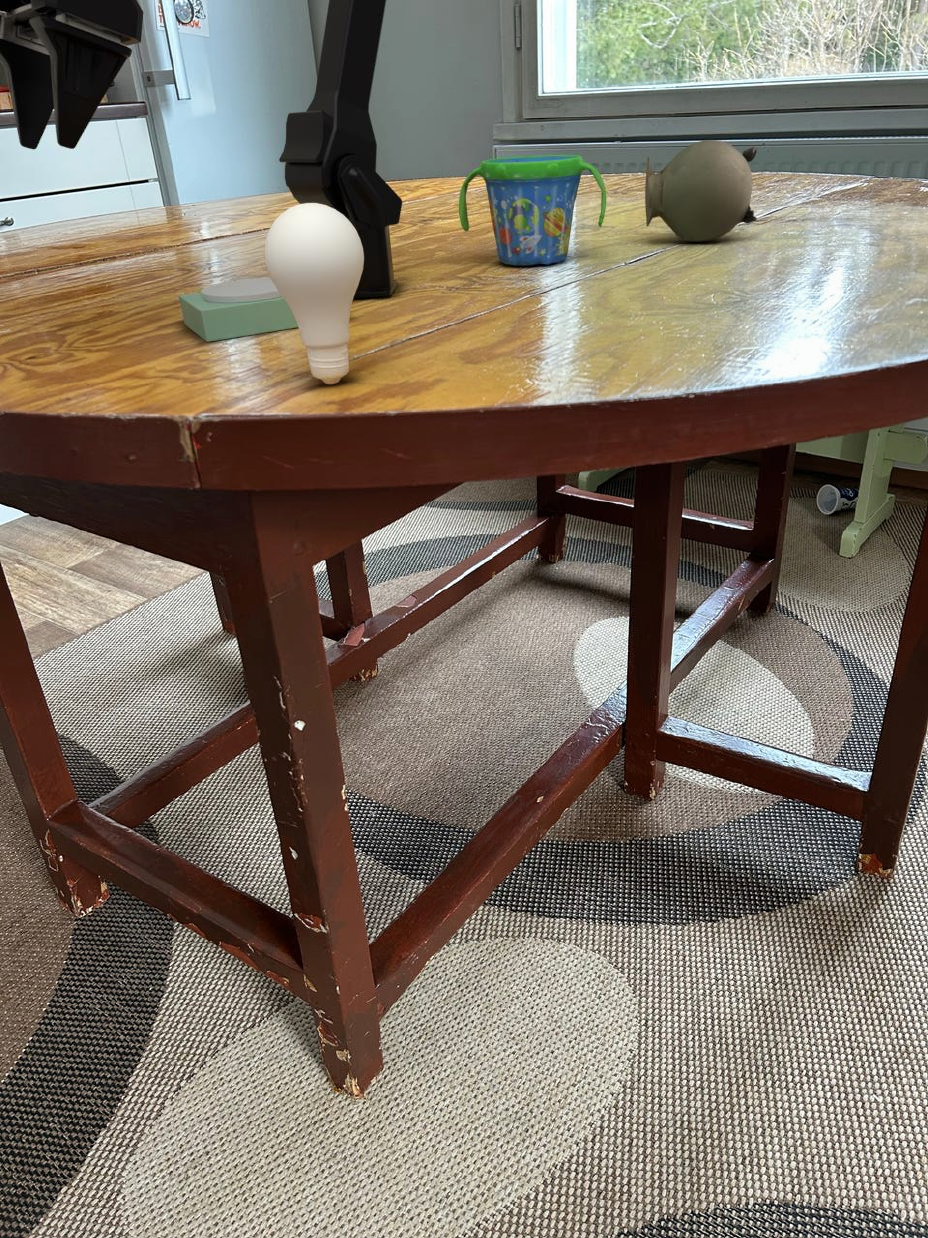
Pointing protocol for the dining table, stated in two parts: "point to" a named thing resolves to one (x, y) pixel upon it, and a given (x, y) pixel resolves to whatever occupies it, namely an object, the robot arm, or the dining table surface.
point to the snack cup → (531, 205)
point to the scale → (236, 309)
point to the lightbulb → (317, 280)
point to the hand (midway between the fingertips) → (46, 147)
